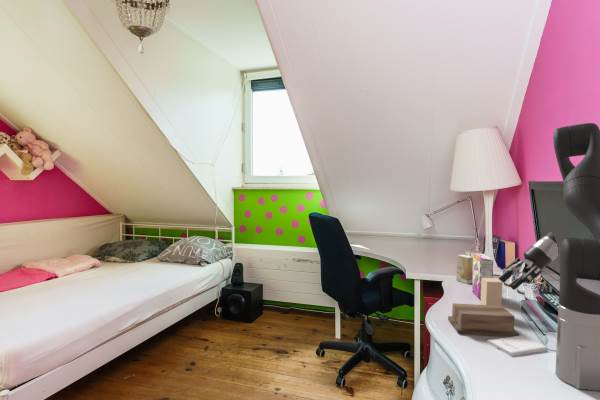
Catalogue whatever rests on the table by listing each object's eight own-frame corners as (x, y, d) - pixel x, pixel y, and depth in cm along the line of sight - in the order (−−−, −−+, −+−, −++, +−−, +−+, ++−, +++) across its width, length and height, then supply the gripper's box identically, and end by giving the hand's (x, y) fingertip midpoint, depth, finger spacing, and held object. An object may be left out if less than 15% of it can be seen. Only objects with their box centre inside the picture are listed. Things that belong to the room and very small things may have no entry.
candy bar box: (471, 291, 151) (472, 253, 150) (484, 292, 150) (485, 253, 149) (478, 300, 140) (480, 258, 139) (492, 301, 139) (494, 259, 138)
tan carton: (501, 316, 123) (502, 282, 122) (485, 315, 124) (487, 281, 123) (495, 311, 128) (496, 278, 127) (480, 310, 129) (481, 277, 128)
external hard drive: (546, 352, 98) (510, 358, 95) (521, 340, 106) (487, 344, 103) (547, 347, 98) (511, 352, 95) (521, 334, 106) (487, 339, 103)
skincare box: (455, 280, 168) (456, 254, 167) (462, 279, 170) (463, 254, 169) (467, 284, 162) (468, 257, 161) (474, 283, 164) (474, 256, 163)
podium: (518, 337, 106) (519, 317, 106) (458, 333, 109) (458, 314, 108) (502, 322, 117) (503, 304, 117) (448, 319, 120) (448, 302, 119)
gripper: (524, 241, 130) (490, 271, 132) (546, 248, 116) (506, 281, 118) (539, 256, 129) (504, 285, 132) (563, 265, 115) (523, 298, 117)
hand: (505, 284), depth 125 cm, fingers open, 8 cm apart
